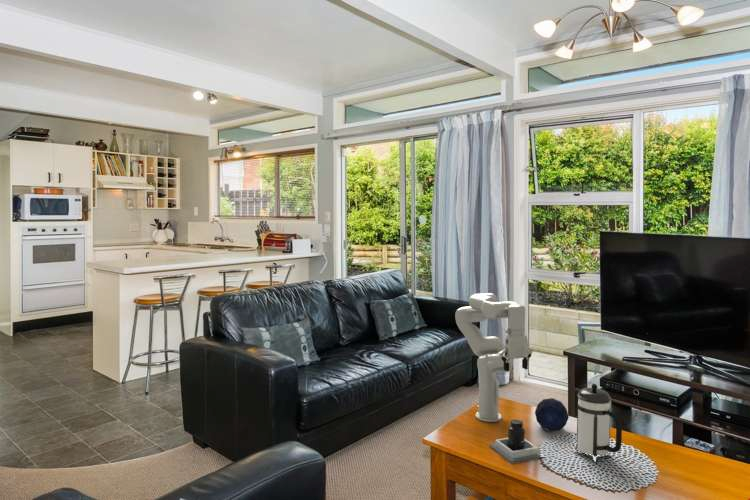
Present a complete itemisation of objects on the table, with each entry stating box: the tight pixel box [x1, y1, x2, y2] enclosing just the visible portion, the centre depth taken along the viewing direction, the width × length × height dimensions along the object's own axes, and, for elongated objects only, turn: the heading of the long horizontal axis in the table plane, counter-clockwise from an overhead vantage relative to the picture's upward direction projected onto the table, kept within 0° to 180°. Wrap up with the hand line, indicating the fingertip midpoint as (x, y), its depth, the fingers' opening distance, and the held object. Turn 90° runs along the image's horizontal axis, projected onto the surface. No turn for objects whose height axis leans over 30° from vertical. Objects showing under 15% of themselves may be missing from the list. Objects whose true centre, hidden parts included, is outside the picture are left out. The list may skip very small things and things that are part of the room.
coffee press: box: [575, 383, 623, 456], centre depth 206 cm, size 17×16×30 cm
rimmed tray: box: [488, 437, 541, 465], centre depth 210 cm, size 16×16×4 cm
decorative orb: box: [534, 397, 570, 432], centre depth 233 cm, size 14×15×15 cm
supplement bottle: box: [507, 419, 526, 451], centre depth 210 cm, size 7×7×12 cm
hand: (515, 369), depth 225 cm, fingers open, 9 cm apart
